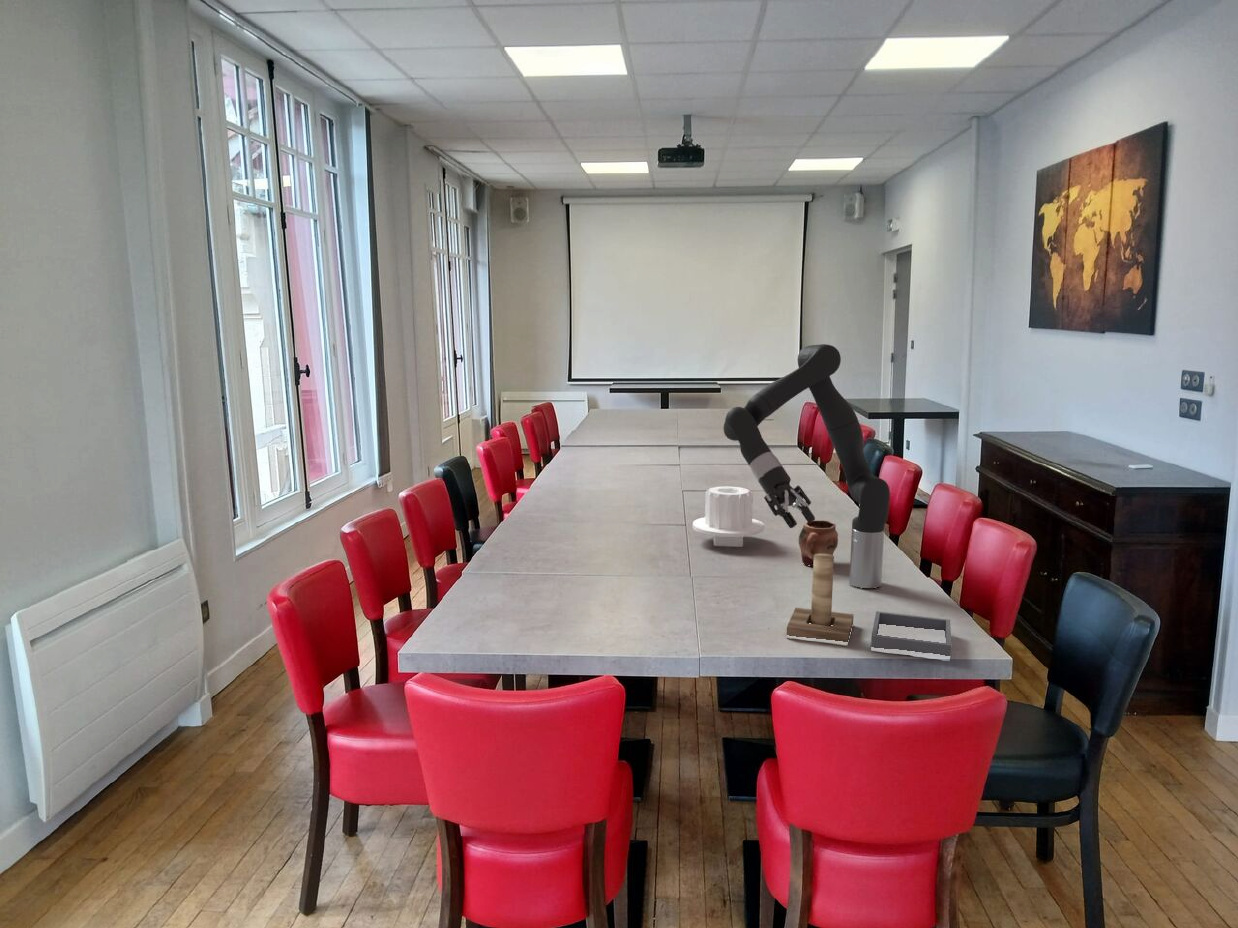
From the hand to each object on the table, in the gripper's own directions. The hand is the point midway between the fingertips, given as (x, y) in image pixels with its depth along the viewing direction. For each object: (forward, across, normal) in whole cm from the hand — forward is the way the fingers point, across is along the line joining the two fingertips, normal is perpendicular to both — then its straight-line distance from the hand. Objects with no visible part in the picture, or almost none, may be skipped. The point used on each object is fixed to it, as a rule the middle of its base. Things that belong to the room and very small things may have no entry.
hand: (803, 523), depth 222 cm
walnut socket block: (+25, +1, -13) cm, 28 cm away
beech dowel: (+25, +1, -13) cm, 28 cm away
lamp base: (-23, -49, -62) cm, 83 cm away
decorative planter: (+2, -48, -35) cm, 60 cm away
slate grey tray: (+38, -8, +2) cm, 39 cm away
